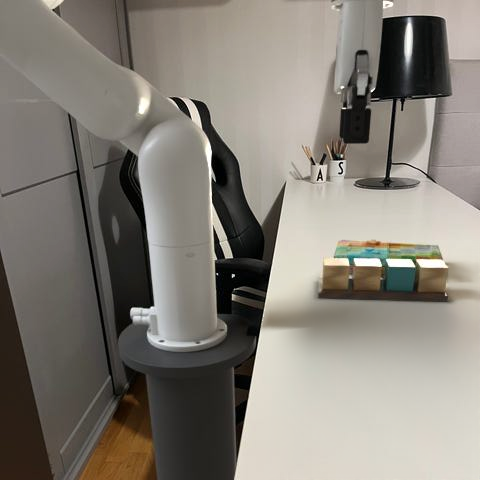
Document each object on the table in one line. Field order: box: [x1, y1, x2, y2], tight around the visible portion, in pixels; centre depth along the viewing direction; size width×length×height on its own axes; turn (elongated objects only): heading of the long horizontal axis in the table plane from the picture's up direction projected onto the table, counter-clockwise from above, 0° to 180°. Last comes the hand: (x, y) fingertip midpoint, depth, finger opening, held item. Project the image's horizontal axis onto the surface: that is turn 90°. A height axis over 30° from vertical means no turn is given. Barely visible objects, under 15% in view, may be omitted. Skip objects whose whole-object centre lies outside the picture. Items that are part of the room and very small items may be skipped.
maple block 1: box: [321, 257, 350, 290], centre depth 89 cm, size 4×4×4 cm
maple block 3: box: [414, 259, 449, 292], centre depth 86 cm, size 4×4×4 cm
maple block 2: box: [351, 259, 382, 291], centre depth 88 cm, size 4×4×4 cm
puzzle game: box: [333, 239, 445, 277], centre depth 99 cm, size 12×5×20 cm
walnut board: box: [317, 277, 449, 303], centre depth 89 cm, size 22×8×1 cm, turn 82°
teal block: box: [383, 259, 416, 291], centre depth 87 cm, size 4×4×4 cm
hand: (352, 140), depth 68 cm, fingers open, 9 cm apart
